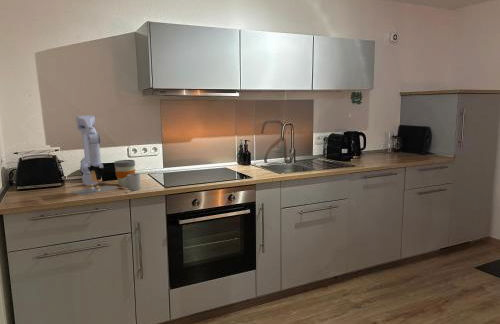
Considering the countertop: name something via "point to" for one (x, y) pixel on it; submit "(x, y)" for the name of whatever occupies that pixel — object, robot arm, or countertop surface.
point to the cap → (94, 177)
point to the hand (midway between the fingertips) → (96, 179)
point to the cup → (132, 182)
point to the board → (93, 190)
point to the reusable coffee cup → (124, 170)
